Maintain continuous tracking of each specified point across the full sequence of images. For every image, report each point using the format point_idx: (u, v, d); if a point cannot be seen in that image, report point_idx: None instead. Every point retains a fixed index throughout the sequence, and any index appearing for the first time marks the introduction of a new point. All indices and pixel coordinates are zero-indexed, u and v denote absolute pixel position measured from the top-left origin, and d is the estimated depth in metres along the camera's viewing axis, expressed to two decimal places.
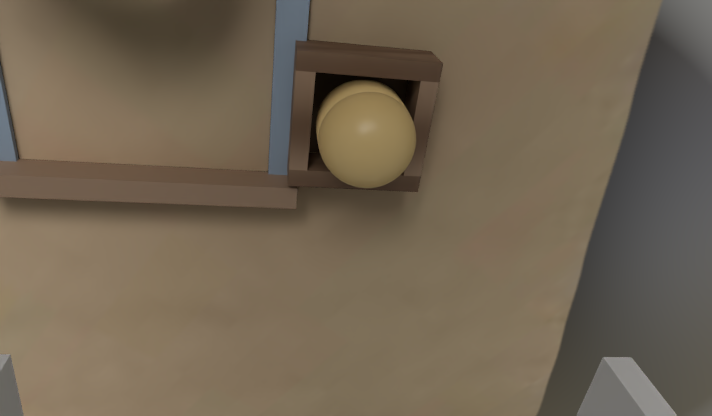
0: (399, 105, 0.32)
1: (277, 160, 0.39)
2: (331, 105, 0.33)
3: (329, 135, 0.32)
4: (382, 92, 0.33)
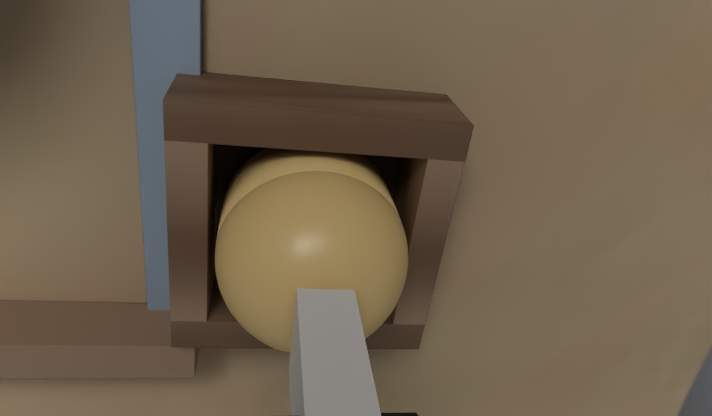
0: (374, 199, 0.16)
1: (163, 287, 0.21)
2: (239, 195, 0.16)
3: (228, 263, 0.15)
4: (341, 171, 0.16)
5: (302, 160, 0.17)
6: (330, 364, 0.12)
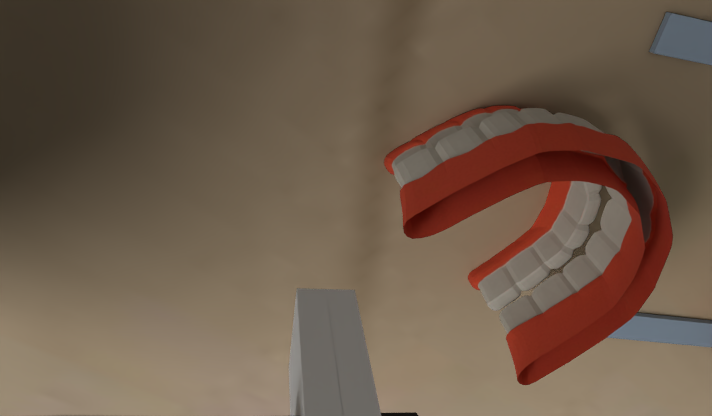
0: None
1: None
2: None
3: None
4: None
5: None
6: (330, 364, 0.12)
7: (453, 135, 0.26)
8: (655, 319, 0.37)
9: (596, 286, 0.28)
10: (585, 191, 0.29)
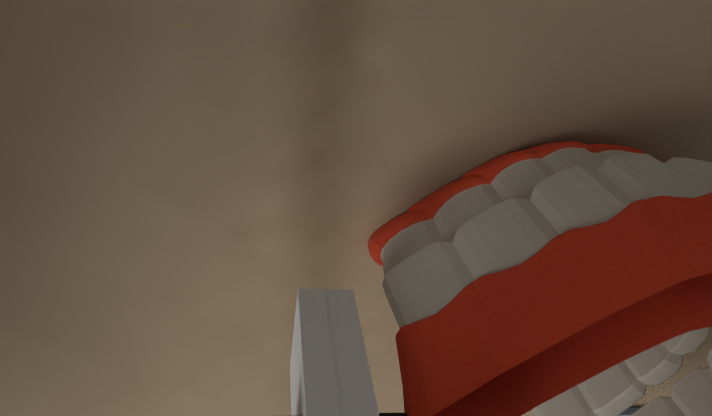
0: None
1: None
2: None
3: None
4: None
5: None
6: (328, 364, 0.12)
7: (485, 218, 0.14)
8: None
9: None
10: None
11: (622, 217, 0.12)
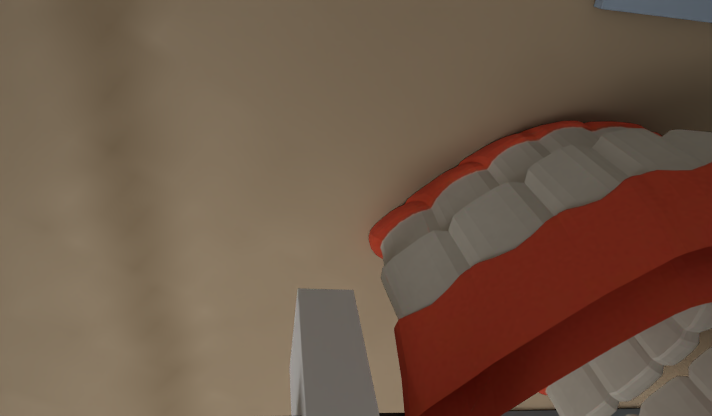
0: None
1: None
2: None
3: None
4: None
5: None
6: (328, 364, 0.12)
7: (479, 204, 0.14)
8: None
9: None
10: None
11: (616, 195, 0.11)
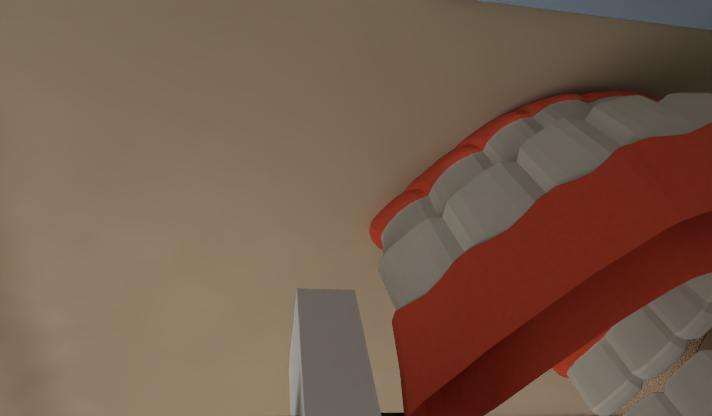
0: None
1: None
2: None
3: None
4: None
5: None
6: (330, 364, 0.12)
7: (472, 187, 0.14)
8: None
9: None
10: None
11: (607, 166, 0.11)
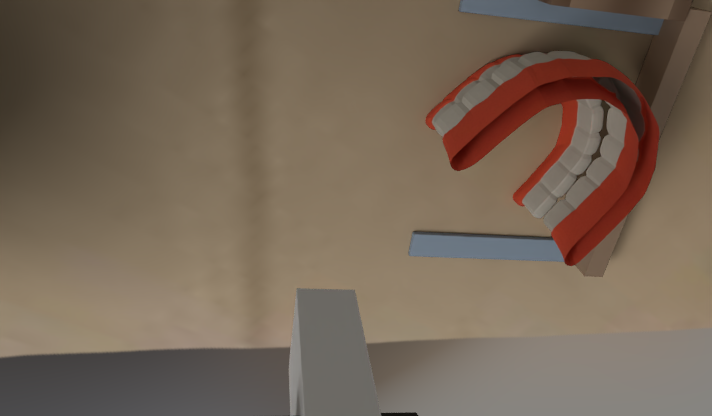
0: None
1: (646, 24, 0.36)
2: None
3: None
4: None
5: None
6: (330, 364, 0.12)
7: (473, 89, 0.34)
8: (516, 239, 0.44)
9: (612, 178, 0.35)
10: (589, 106, 0.36)
11: (521, 73, 0.31)
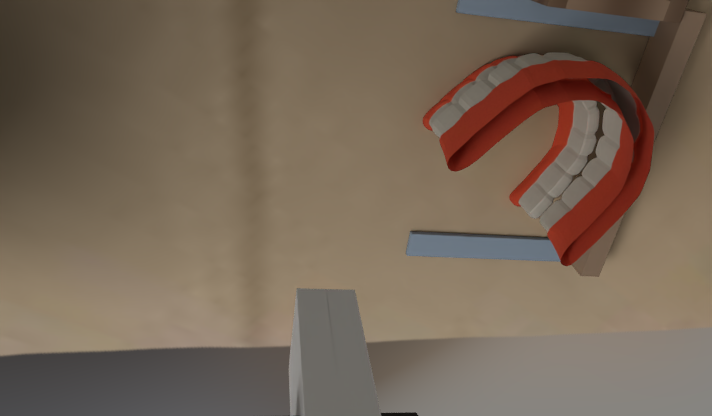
0: None
1: (642, 25, 0.37)
2: None
3: None
4: None
5: None
6: (330, 364, 0.12)
7: (470, 90, 0.34)
8: (513, 239, 0.44)
9: (607, 178, 0.36)
10: (585, 107, 0.37)
11: (517, 75, 0.31)
